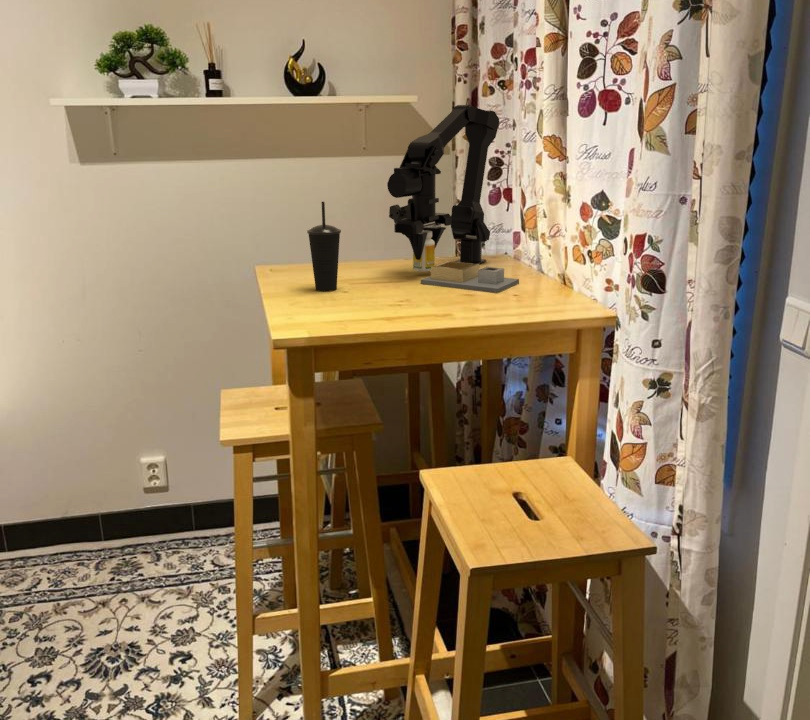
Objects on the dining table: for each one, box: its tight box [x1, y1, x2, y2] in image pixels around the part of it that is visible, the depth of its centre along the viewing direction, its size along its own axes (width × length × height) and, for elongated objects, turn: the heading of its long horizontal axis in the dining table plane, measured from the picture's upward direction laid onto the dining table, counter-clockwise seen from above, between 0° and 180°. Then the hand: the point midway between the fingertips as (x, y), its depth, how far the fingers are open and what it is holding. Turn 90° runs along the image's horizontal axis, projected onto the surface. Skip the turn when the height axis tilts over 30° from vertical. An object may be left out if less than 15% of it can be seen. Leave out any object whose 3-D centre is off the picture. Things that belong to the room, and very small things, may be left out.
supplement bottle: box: [412, 230, 436, 272], centre depth 196 cm, size 5×5×10 cm
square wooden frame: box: [430, 260, 480, 283], centre depth 188 cm, size 8×8×3 cm
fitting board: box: [420, 275, 520, 294], centre depth 187 cm, size 12×20×1 cm, turn 58°
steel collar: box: [478, 266, 505, 285], centre depth 184 cm, size 4×4×3 cm
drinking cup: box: [306, 201, 342, 292], centre depth 179 cm, size 8×8×20 cm
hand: (423, 257), depth 196 cm, fingers closed on supplement bottle, 5 cm apart
